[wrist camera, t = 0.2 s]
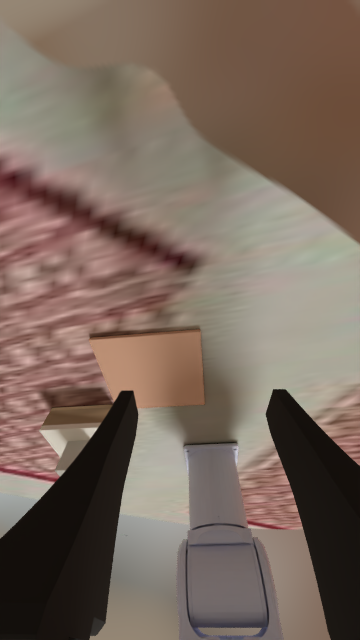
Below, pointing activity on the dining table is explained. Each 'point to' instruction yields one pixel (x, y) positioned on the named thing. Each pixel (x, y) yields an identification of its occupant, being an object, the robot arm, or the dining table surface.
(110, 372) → the mat
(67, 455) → the lid
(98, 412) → the box
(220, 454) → the robot arm
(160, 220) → the dining table surface
